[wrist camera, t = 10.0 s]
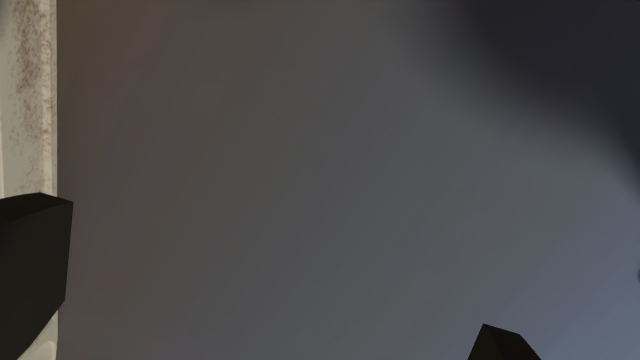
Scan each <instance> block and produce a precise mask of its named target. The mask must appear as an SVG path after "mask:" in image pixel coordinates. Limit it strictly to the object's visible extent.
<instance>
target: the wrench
mask: <svg viewBox="0 0 640 360" xmlns="http://www.w3.org/2000/svg"><path fill="white" fill-rule="evenodd" d="M37 192H42V193H45V194H48V195H52V196H55V197H57V39H56V0H0V199H1V198H6V197H11V196H16V195H22V194H29V193H37ZM57 338H58V310H57V311H56V313H55V314H54V316H53V317H52V318H51V320H50V321H49V322H48V324H47V325H46V326H45V328H44V329H43V330H42V332H41V333H40V334H39V335H38V337H37V338H36V339H35V340H34V342H33V343H32V344H31V346H30V347H29V348H28V349H27V350H26V351H25V352H24V353H23V354H22V355H21V356H20V357H19V358H18V359H17V360H56V349H57Z"/></svg>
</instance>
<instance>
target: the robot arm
mask: <svg viewBox="0 0 640 360" xmlns="http://www.w3.org/2000/svg"><path fill="white" fill-rule="evenodd" d="M72 212H73V202H72V201H69V200H65V199H62V198H58V197H55V196H52V195H48V194H45V193H42V192H37V193H29V194H22V195H16V196H11V197H6V198H1V199H0V360H17V359H18V358H19V357H20V356H21V355H22V354H23V353H24V352H25V351H26V350H27V349H28V348H29V347H30V346H31V344H32V343H33V342H34V340H35V339H36V338H37V337H38V335H39V334H40V333H41V332H42V330H43V329H44V328H45V326H46V325H47V324H48V322H49V321H50V320H51V318H52V317H53V316H54V314H55V313H56V311H57V310H58V309H59V307H60V306H61V305H62V303H63V302H64V300H65V292H66V280H67V269H68V258H69V246H70V235H71V223H72ZM468 360H541V359H540V358H539V356H538V355H537V354H536V353H535V351H534V350H533V349H532V348H531V347H530V345H529V344H528V343H527V342H526V341H525V340H524V339H523V338H522V336H521V335H520V334H517V333H514V332H510V331H507V330H503V329H500V328H497V327H493V326H490V325H487V324H483V325H482V327H481V330H480V332H479V334H478V337H477V339H476V341H475V344H474V346H473V348H472V351H471V353H470V355H469V357H468Z"/></svg>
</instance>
